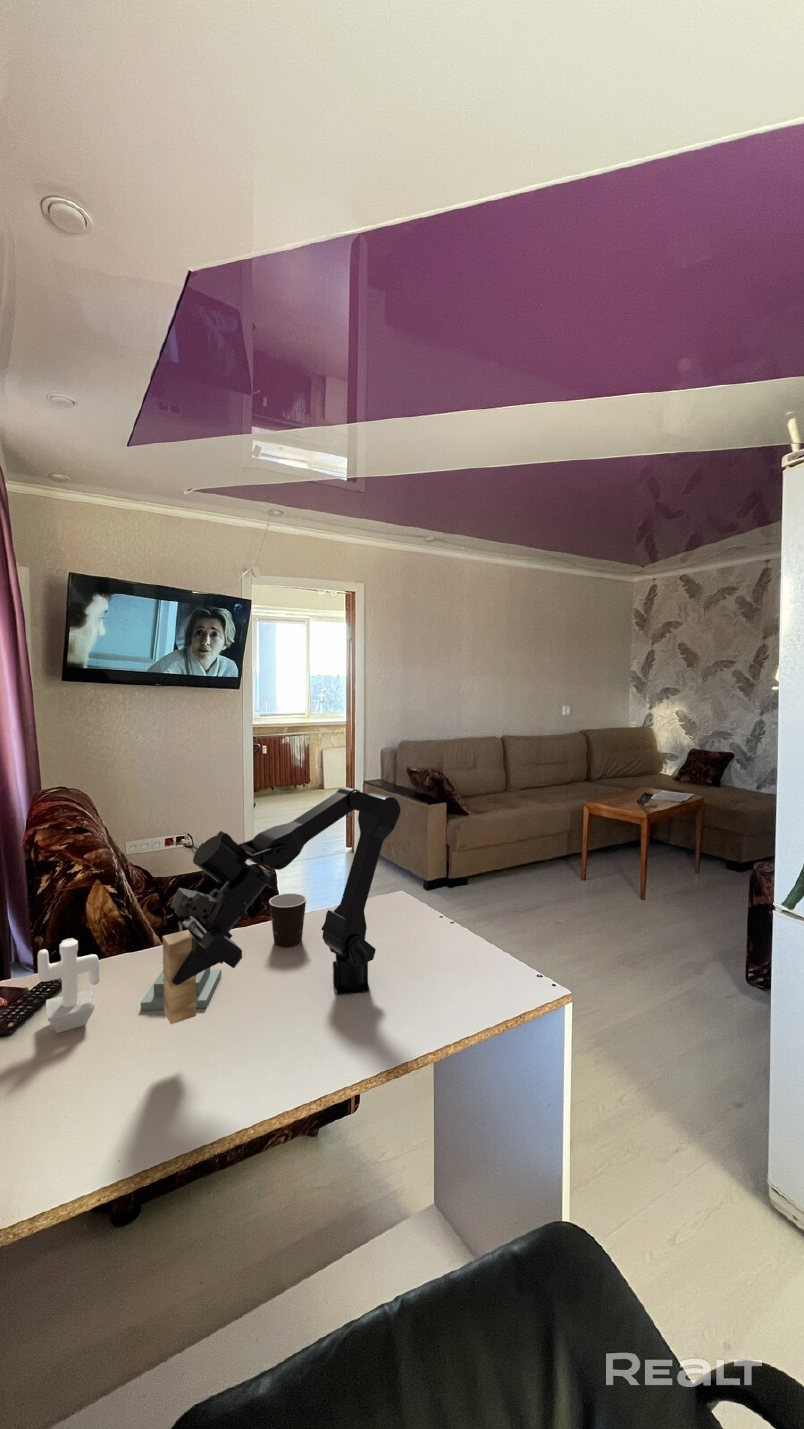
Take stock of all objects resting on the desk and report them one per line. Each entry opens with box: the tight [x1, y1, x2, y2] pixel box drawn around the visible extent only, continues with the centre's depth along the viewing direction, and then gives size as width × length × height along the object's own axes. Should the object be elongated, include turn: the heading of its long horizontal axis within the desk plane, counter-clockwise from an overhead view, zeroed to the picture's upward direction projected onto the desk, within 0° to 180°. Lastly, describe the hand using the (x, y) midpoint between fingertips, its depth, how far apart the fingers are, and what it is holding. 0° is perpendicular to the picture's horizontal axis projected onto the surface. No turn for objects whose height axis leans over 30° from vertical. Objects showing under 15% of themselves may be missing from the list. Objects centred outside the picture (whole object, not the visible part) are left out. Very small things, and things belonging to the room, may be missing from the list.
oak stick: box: [162, 930, 197, 1025], centre depth 94 cm, size 4×4×13 cm
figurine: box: [37, 937, 100, 1034], centre depth 103 cm, size 7×9×15 cm
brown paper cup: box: [268, 893, 307, 949], centre depth 137 cm, size 12×9×10 cm
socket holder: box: [140, 967, 222, 1011], centre depth 113 cm, size 12×12×4 cm
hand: (170, 977), depth 93 cm, fingers closed on oak stick, 4 cm apart
